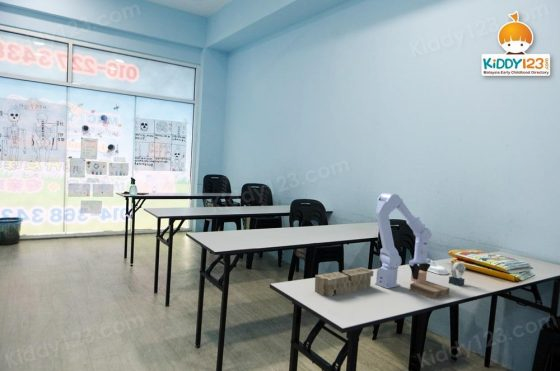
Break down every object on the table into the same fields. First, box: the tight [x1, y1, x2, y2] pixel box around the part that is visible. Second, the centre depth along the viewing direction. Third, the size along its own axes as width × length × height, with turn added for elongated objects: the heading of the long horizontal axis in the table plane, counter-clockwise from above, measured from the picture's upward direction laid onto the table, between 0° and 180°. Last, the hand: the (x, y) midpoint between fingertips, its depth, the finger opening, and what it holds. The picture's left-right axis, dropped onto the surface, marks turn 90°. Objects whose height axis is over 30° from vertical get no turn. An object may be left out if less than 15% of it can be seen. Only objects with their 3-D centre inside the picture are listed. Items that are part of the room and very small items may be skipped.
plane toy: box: [418, 259, 449, 275], centre depth 215 cm, size 10×20×6 cm, turn 34°
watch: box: [448, 261, 467, 287], centre depth 191 cm, size 6×8×11 cm
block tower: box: [314, 266, 374, 297], centre depth 173 cm, size 8×8×29 cm
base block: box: [409, 280, 450, 300], centre depth 176 cm, size 12×12×3 cm
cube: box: [410, 270, 428, 283], centre depth 188 cm, size 5×5×5 cm
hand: (418, 278), depth 188 cm, fingers closed on cube, 5 cm apart
